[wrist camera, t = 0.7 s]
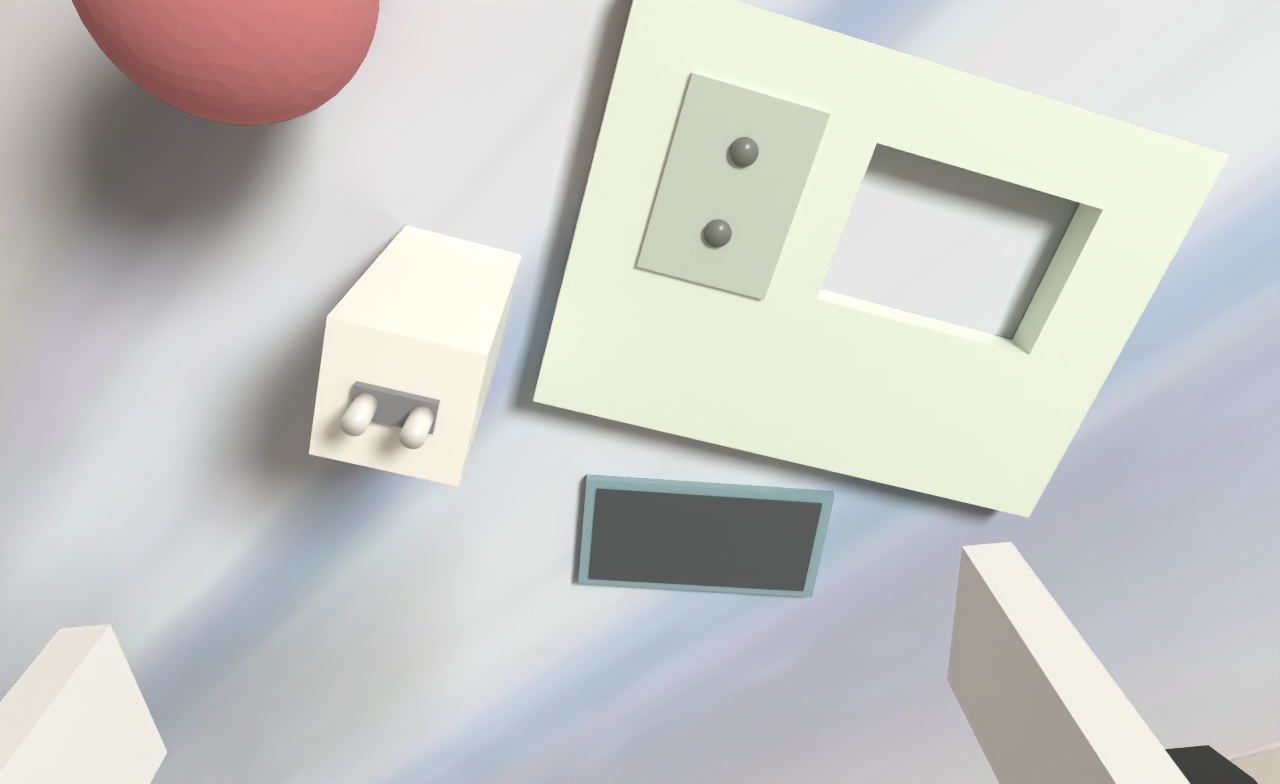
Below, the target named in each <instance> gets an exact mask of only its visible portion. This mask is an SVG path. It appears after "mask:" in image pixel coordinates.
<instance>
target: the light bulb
mask: <svg viewBox="0 0 1280 784" xmlns="http://www.w3.org/2000/svg"><path fill="white" fill-rule="evenodd" d="M72 2H73V4H74V6H75V8H76V10H77V12H78V14H79V16H80V18H81V20H82V22H83V24H84V25H85V27H86V28H87V30H88V31H89V33H90V34H91V36H92V37H93V39H94V40H95V41H96V43H97V44H98V46H99V47H100V49H101V50H102V51H103V52H104V53H105V54H106V56H107V57H108V58H109V59H110V60H111V61H112V62H113V63H114V64H115V65H116V66H117V67H118V68H119V69H120V70H121V71H122V72H123V73H124V74H125V75H127V76H128V77H129V78H130V79H131V80H132V81H133V82H135V83H136V84H137V85H139V86H140V87H141V88H143V89H144V90H145V91H147V92H148V93H150V94H151V95H152V96H154V97H156V98H158V99H159V100H161V101H163V102H165V103H167V104H169V105H171V106H173V107H175V108H177V109H179V110H181V111H184V112H186V113H189V114H191V115H194V116H197V117H200V118H204V119H208V120H212V121H216V122H221V123H227V124H237V125H259V124H272V123H277V122H282V121H287V120H290V119H293V118H296V117H299V116H301V115H304V114H307V113H309V112H311V111H313V110H315V109H317V108H318V107H320V106H321V105H323V104H324V103H325V102H327V101H328V100H330V99H331V98H333V97H334V96H335V95H337V94H338V93H339V91H340V90H341V89H342V88H343V87H344V86H345V85H346V84H347V83H348V82H349V81H350V80H351V79H352V77H353V76H354V75H355V73H356V72H357V70H358V69H359V67H360V65H361V64H362V62H363V60H364V59H365V57H366V55H367V53H368V50H369V47H370V45H371V42H372V40H373V37H374V33H375V29H376V24H377V19H378V12H379V0H72Z"/></svg>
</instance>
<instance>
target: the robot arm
mask: <svg viewBox="0 0 1280 784" xmlns="http://www.w3.org/2000/svg"><path fill="white" fill-rule="evenodd" d="M947 680H948V682H949V684H950V686H951V688H952V690H953V692H954V694H955V696H956V698H957V700H958V702H959V704H960V706H961V708H962V710H963V712H964V714H965V716H966V718H967V720H968V722H969V724H970V726H971V728H972V730H973V732H974V734H975V736H976V738H977V740H978V742H979V744H980V746H981V748H982V750H983V752H984V754H985V756H986V758H987V760H988V762H989V763H990V765H991V767H992V769H993V771H994V773H995V775H996V777H997V779H998V781H999V783H1000V784H1258V783H1257V782H1256V781H1255V780H1254V779H1253V778H1252V777H1251V776H1249V775H1248V774H1246V773H1245V772H1244V771H1242V770H1241V769H1240V768H1238V767H1237V766H1236V765H1234V764H1233V763H1232V762H1230V761H1229V760H1228V759H1226V758H1225V757H1223V756H1222V755H1221V754H1219V753H1218V752H1217V751H1215V750H1214V749H1213V748H1211V747H1210V746H1209V745H1206V746H1195V747H1185V748H1174V749H1164V748H1163V746H1162V745H1161V744H1160V742H1159V741H1158V740H1157V738H1156V737H1155V735H1154V734H1153V733H1152V731H1151V730H1150V729H1149V727H1148V726H1147V725H1146V723H1145V722H1144V721H1143V719H1142V718H1141V717H1140V715H1139V714H1138V713H1137V711H1136V710H1135V708H1134V707H1133V706H1132V704H1131V703H1130V702H1129V700H1128V699H1127V698H1126V696H1125V695H1124V694H1123V692H1122V691H1121V690H1120V688H1119V687H1118V685H1117V684H1116V683H1115V681H1114V680H1113V679H1112V677H1111V676H1110V675H1109V673H1108V672H1107V671H1106V669H1105V668H1104V667H1103V665H1102V664H1101V663H1100V661H1099V660H1098V658H1097V657H1096V656H1095V654H1094V653H1093V652H1092V650H1091V649H1090V648H1089V646H1088V645H1087V644H1086V642H1085V641H1084V640H1083V638H1082V637H1081V635H1080V634H1079V633H1078V631H1077V630H1076V629H1075V627H1074V626H1073V625H1072V623H1071V622H1070V621H1069V619H1068V618H1067V617H1066V615H1065V614H1064V612H1063V611H1062V610H1061V608H1060V607H1059V606H1058V604H1057V603H1056V602H1055V600H1054V599H1053V598H1052V596H1051V595H1050V594H1049V592H1048V591H1047V590H1046V588H1045V587H1044V585H1043V584H1042V583H1041V581H1040V580H1039V579H1038V577H1037V576H1036V575H1035V573H1034V572H1033V571H1032V569H1031V568H1030V567H1029V565H1028V564H1027V562H1026V561H1025V560H1024V558H1023V557H1022V556H1021V554H1020V553H1019V552H1018V550H1017V549H1016V548H1015V546H1014V545H1013V544H1012V542H1004V543H993V544H982V545H971V546H962V553H961V562H960V570H959V579H958V588H957V597H956V606H955V615H954V624H953V633H952V642H951V651H950V660H949V669H948V678H947ZM166 754H167V750H166V748H165V746H164V744H163V741H162V739H161V737H160V735H159V732H158V730H157V728H156V726H155V723H154V721H153V719H152V717H151V714H150V712H149V710H148V708H147V705H146V703H145V701H144V699H143V696H142V694H141V692H140V690H139V687H138V685H137V683H136V681H135V678H134V676H133V674H132V672H131V669H130V667H129V665H128V663H127V660H126V658H125V656H124V654H123V651H122V649H121V647H120V645H119V642H118V640H117V638H116V636H115V633H114V631H113V629H112V627H111V624H104V625H93V626H82V627H71V628H60V629H59V630H58V631H57V633H56V634H55V635H54V636H53V638H52V639H51V640H50V641H49V643H48V644H47V645H46V646H45V647H44V649H43V650H42V651H41V652H40V654H39V655H38V656H37V657H36V658H35V660H34V661H33V662H32V663H31V665H30V666H29V667H28V668H27V669H26V671H25V672H24V673H23V674H22V676H21V677H20V678H19V679H18V681H17V682H16V683H15V684H14V685H13V687H12V688H11V689H10V690H9V692H8V693H7V694H6V695H5V696H4V698H3V699H2V700H1V701H0V784H150V783H151V781H152V779H153V777H154V776H155V774H156V772H157V770H158V768H159V767H160V765H161V763H162V761H163V759H164V757H165V756H166Z"/></svg>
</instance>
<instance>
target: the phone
mask: <svg viewBox="0 0 1280 784" xmlns="http://www.w3.org/2000/svg"><path fill="white" fill-rule="evenodd" d="M833 500H834V494H833V492H832V491H825V490H810V489H795V488H780V487H765V486H751V485H736V484H721V483H706V482H691V481H676V480H661V479H647V478H632V477H617V476H602V475H587V477H586V489H585V502H584V514H583V527H582V540H581V552H580V565H579V577H578V584H589V585H606V586H624V587H641V588H659V589H676V590H694V591H711V592H729V593H746V594H763V595H781V596H798V597H812V594H813V590H814V585H815V581H816V576H817V572H818V567H819V563H820V558H821V554H822V550H823V545H824V541H825V536H826V532H827V527H828V523H829V518H830V514H831V509H832V505H833Z"/></svg>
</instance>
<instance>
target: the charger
mask: <svg viewBox="0 0 1280 784" xmlns="http://www.w3.org/2000/svg"><path fill="white" fill-rule="evenodd" d="M521 256H522V255H520V254H516V253H512V252H508V251H504V250H501V249H497V248H493V247H489V246H485V245H481V244H477V243H473V242H470V241H466V240H462V239H458V238H454V237H450V236H446V235H442V234H439V233H435V232H431V231H427V230H423V229H419V228H415V227H411V226H408V225H406V226H405V227H404V228H403V229H402V230H401V231H400V232H399V234H398V235H397V236H396V237H395V238H394V239H393V241H392V242H391V243H390V244H389V245H388V246H387V247H386V249H385V250H384V251H383V252H382V253H381V254H380V256H379V257H378V258H377V259H376V260H375V261H374V263H373V264H372V265H371V266H370V267H369V268H368V269H367V271H366V272H365V273H364V274H363V275H362V276H361V278H360V279H359V280H358V281H357V282H356V283H355V284H354V286H353V287H352V288H351V289H350V290H349V291H348V293H347V294H346V295H345V296H344V297H343V298H342V300H341V301H340V302H339V303H338V304H337V305H336V306H335V308H334V309H333V310H332V311H331V312H330V313H329V315H328V316H327V320H326V327H325V335H324V342H323V350H322V357H321V365H320V372H319V380H318V387H317V395H316V403H315V410H314V418H313V425H312V433H311V440H310V448H309V454H311V455H315V456H320V457H325V458H329V459H334V460H338V461H343V462H348V463H352V464H357V465H361V466H366V467H371V468H375V469H380V470H384V471H389V472H394V473H398V474H403V475H407V476H412V477H417V478H421V479H426V480H430V481H435V482H440V483H444V484H449V485H453V486H458V487H459V485H460V482H461V478H462V475H463V472H464V469H465V465H466V462H467V459H468V456H469V452H470V449H471V446H472V442H473V439H474V436H475V433H476V429H477V426H478V423H479V420H480V416H481V413H482V410H483V407H484V403H485V400H486V397H487V394H488V390H489V387H490V384H491V381H492V377H493V374H494V371H495V368H496V364H497V361H498V358H499V353H500V349H501V344H502V340H503V336H504V331H505V327H506V322H507V318H508V314H509V309H510V305H511V300H512V296H513V292H514V287H515V283H516V278H517V274H518V270H519V265H520V261H521Z"/></svg>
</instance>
